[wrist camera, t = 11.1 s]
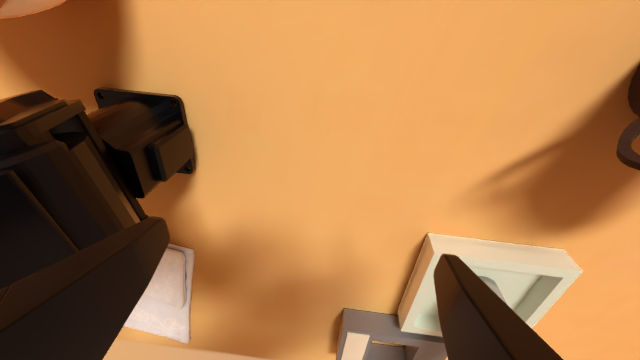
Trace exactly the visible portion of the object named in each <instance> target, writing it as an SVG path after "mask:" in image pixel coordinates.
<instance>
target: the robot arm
mask: <svg viewBox="0 0 640 360" xmlns="http://www.w3.org/2000/svg"><path fill="white" fill-rule="evenodd" d="M101 93H102V94H103V95H104V97H103V96H102V94H101ZM94 96H95V99H96V101H97V104H98V107H99V110H97V111H94V112H92V113H89V114H87V115H86V113H85V111H84V110H85V107H84V105H83V104H82V102H81V100H72V101H65V100H58V98H54V97H52V96H50V95H49V94H47V93H45V92H44V91H42V90H37V91H31V92H27V93H23V94H19V95H15V96H12V97H8V98H4V99H1V100H0V360H102V359H103V358H104V356H105V355H106V353H107V351H108V350H109V348H110V346H111V345H112V343H113V342H114V340H115V338H116V337H117V335H118V334H119V332H120V330H121V329H122V327H123V326H124V324H125V322H126V321H127V319H128V317H129V316H130V314H131V313H132V311H133V309H134V308H135V306H136V305H137V303H138V301H139V300H140V298H141V297H142V295H143V293H144V292H145V290H146V288H147V287H148V285H149V283H150V281H151V279H152V277H153V275H154V273H155V271H156V269H157V267H158V265H159V263H160V261H161V259H162V257H163V255H164V253H165V251H166V248H167V246H168V244H169V242H170V234H169V230H168V227H167V224H166V221H165V219H164V218H160V217H149V216H148V215H146V214H145V213H144V211H143V209H142V207H141V206H140V204H139V202H138V201H137V199H136V198H144V197H145V196H146V195H147V194H148V193H149V192H151V191H152V190H153V189H154V188H155V187H156V186H157V185H158V184H159V183H160V182H166V181H167V180H168V179H169V178H170V177H171V176H172V175H173V174H174V173H175V172H176V173H185V174H191V173H193V172H194V170H195V162H194V157H193V155H194V150H193V145H192V140H191V135H190V129H189V126H188V125H187V121H186V116H185V111H184V106H183V102H182V100H181V98H180V97H178V96H176V95H168V94H159V93H149V92H140V91H130V90H121V89H112V88H98V89H96V90H94ZM173 100H174V101H175V102H176V103H177V105H175V104H174V103H173ZM187 166H188V167H189V168H190V169H189V168H187ZM433 278H434V285H435V293H436V300H437V308H438V315H439V322H440V327H441V332H442V336H443V340H444V344H445V348H446V352H447V356H448V360H563V359H562V358H561V357H560V356H559V355H558V354H557V353H556V352H555V351H554V350H553V349H552V348H551V347H550V346H549V345H548V344H547V343H546V342H545V341H544V340H543V339H542V338H541V337H540V336H539V335H538V334H537V333H536V332H535V331H534V330H533V329H532V328H531V327H530V326H528V325H527V324H526V323H525V322H524V321H523V320H522V319H521V318H520V317H519V316H518V315H517V314H516V313H515V312H514V311H513V310H512V309H511V308H510V307H509V306H508V305H507V304H506V303H505V302H504V301H503V300H502V299H501V298H500V297H499V296H498V295H497V294H496V293H495V292H494V291H493V290H492V289H491V288H490V287H489V286H488V285H487V284H486V283H485V282H484V281H483V280H481V279H480V278H479V277H478V276H477V275H476V274H475V273H474V272H473V271H472V270H471V269H470V268H469V267H468V266H467V265H466V264H465V263H464V262H463V261H462V260H461V259H460V258H459V257H458V256H456V255H453V254H442V255H441V256H440V258H439V261H438V263H437V265H436V267H435V270H434V274H433Z"/></svg>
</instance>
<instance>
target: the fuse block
mask: <svg viewBox="0 0 640 360" xmlns="http://www.w3.org/2000/svg"><path fill="white" fill-rule="evenodd" d="M372 341H379V342H386V343H393V344H401V345H405V347H397V346H390V345H382V344H375V343H372ZM446 357H447V352H446V348H445V344H444V340H443V337H439V336H432V335H425V334H418V333H410V332H403V331H401V330H400V324H399V317H398V316H397V315H390V314H382V313H375V312H367V311H360V310H353V309H345V308H344V311H343V315H342V320H341V325H340V330H339V334H338V339H337V345H336V360H445V359H446Z"/></svg>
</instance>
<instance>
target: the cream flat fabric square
mask: <svg viewBox="0 0 640 360" xmlns="http://www.w3.org/2000/svg"><path fill="white" fill-rule="evenodd" d="M194 259H195V256H194V250H193V249H189V248H185V247H181V246H178V245H174V244H170V243H169V244H168V246H167V248H166V251H165V253H164V255H163V257H162V259H161V261H160V263H159V265H158V267H157V269H156V271H155V273H154V275H153V277H152V279H151V281H150V283H149V285H148V287H147V288H146V290H145V292H144V293H143V295H142V297H141V298H140V300H139V301H138V303H137V305H136V306H135V308H134V309H133V311H132V313H131V314H130V316H129V317H128V319H127V321H126V322H125V324H124V327H129V328H133V329H137V330H142V331H145V332H149V333H152V334H156V335H160V336H164V337H168V338H171V339H174V340H177V341H180V342H183V343H184V344H187V343H189V339H191V336H190V306H191V294H192V279H193V269H194Z"/></svg>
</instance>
